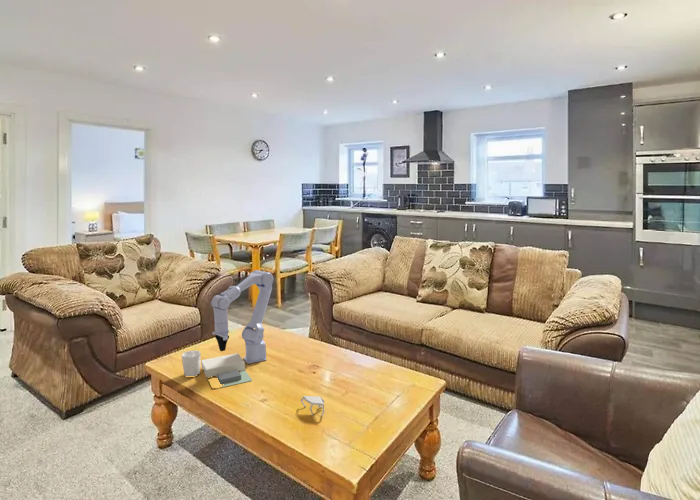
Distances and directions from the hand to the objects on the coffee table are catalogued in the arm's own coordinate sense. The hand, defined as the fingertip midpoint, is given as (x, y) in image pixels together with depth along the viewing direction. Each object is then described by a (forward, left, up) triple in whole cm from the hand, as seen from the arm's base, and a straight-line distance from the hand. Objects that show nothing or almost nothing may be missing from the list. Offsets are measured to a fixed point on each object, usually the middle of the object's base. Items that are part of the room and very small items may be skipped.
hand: (222, 350), depth 190 cm
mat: (0, +10, -10) cm, 14 cm away
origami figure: (-22, +50, -11) cm, 56 cm away
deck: (0, -3, -10) cm, 11 cm away
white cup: (+13, -4, -11) cm, 17 cm away
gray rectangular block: (0, +9, -8) cm, 12 cm away
